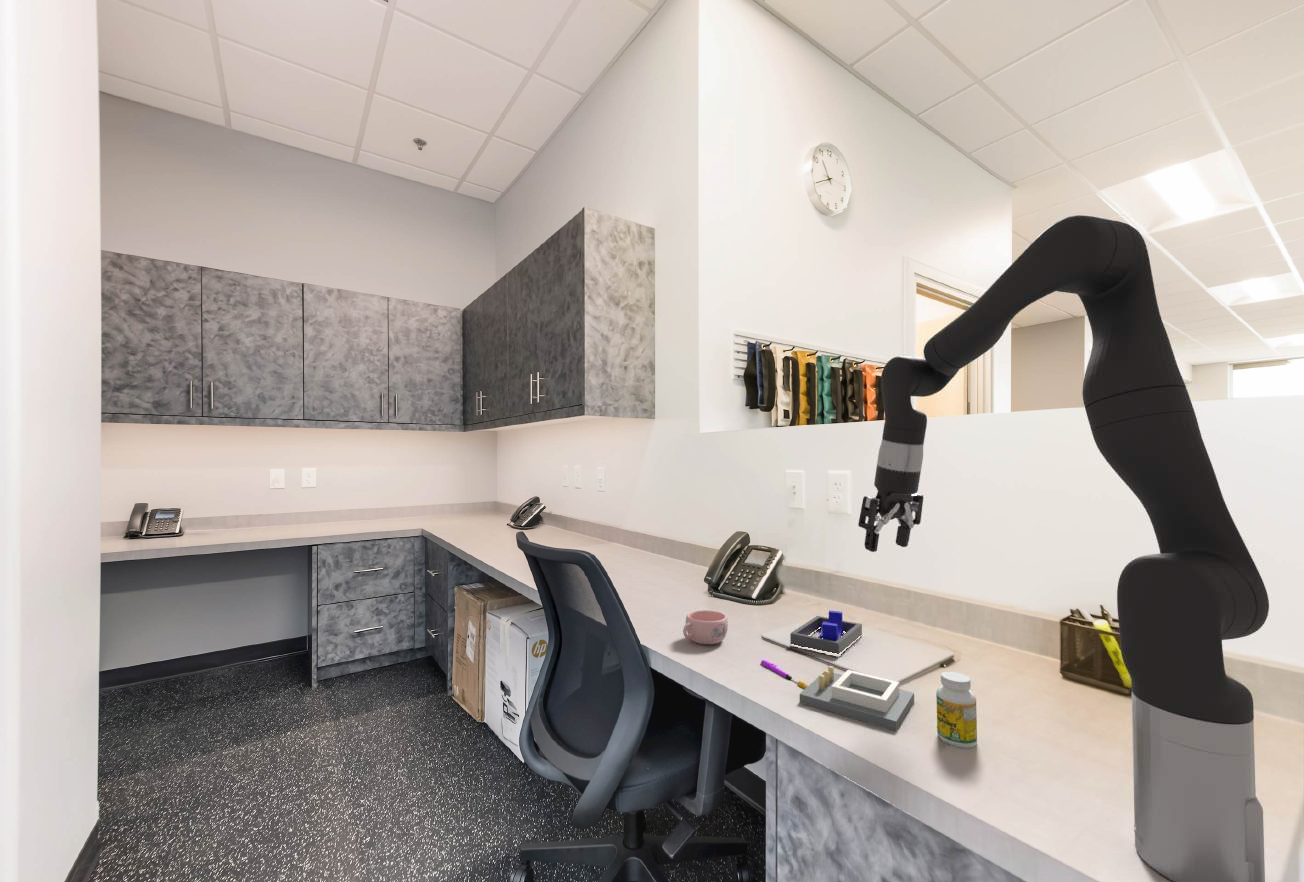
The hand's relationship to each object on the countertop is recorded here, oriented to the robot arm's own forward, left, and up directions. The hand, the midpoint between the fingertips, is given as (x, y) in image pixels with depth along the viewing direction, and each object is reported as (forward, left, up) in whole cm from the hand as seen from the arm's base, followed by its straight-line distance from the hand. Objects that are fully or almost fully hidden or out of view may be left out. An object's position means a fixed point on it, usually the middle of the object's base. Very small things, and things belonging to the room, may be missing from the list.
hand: (886, 548), depth 102 cm
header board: (+3, +10, -26) cm, 28 cm away
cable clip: (+17, -17, -27) cm, 36 cm away
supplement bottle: (-13, +14, -26) cm, 33 cm away
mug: (+41, +1, -26) cm, 48 cm away
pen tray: (+18, -17, -26) cm, 36 cm away
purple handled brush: (+16, +7, -27) cm, 32 cm away
